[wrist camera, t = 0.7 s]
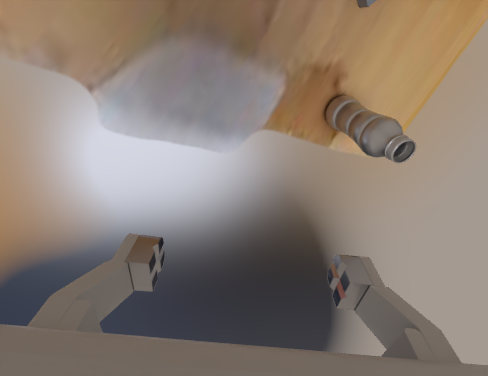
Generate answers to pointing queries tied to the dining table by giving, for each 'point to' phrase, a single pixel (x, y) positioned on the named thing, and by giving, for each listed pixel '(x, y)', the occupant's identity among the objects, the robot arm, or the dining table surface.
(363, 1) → the pin tray
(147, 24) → the dining table surface
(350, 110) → the plastic bottle
